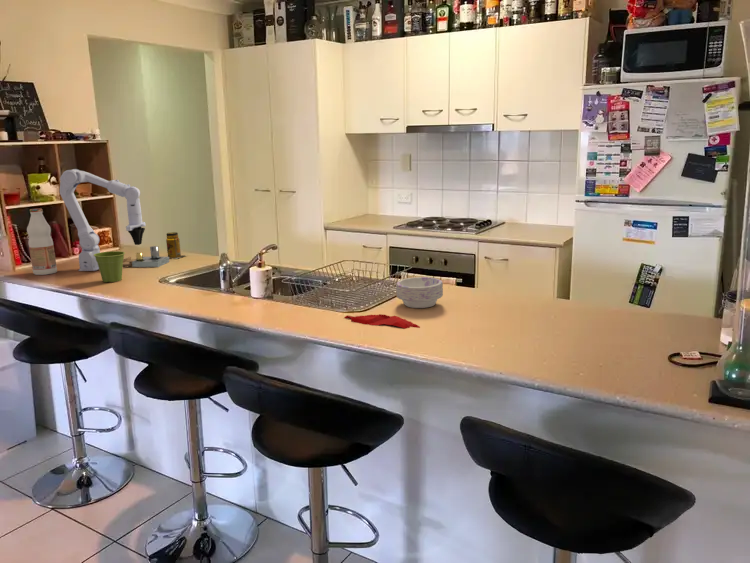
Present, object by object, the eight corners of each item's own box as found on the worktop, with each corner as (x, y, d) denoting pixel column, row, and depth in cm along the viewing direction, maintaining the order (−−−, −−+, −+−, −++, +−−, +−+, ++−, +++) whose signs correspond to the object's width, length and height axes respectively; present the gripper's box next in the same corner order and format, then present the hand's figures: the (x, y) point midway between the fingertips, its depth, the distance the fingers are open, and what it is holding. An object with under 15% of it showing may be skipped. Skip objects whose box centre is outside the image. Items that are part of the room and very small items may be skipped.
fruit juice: (35, 276, 268) (26, 210, 262) (31, 273, 275) (21, 209, 269) (59, 273, 274) (50, 208, 268) (54, 269, 281) (45, 207, 275)
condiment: (164, 258, 302) (161, 233, 299) (175, 255, 310) (172, 231, 307) (176, 259, 300) (174, 234, 297) (187, 255, 307) (185, 231, 305)
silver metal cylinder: (158, 264, 287) (156, 247, 285) (150, 264, 287) (148, 247, 286) (161, 263, 290) (159, 245, 289) (153, 263, 291) (152, 246, 289)
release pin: (141, 262, 283) (140, 253, 282) (135, 262, 283) (134, 253, 282) (144, 261, 285) (143, 252, 284) (138, 261, 286) (137, 252, 285)
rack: (131, 266, 284) (131, 261, 283) (116, 266, 284) (116, 262, 284) (143, 261, 295) (143, 256, 295) (129, 261, 296) (129, 257, 295)
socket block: (158, 267, 281) (157, 261, 281) (132, 267, 282) (132, 261, 282) (169, 261, 293) (168, 256, 292) (144, 261, 294) (144, 256, 294)
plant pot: (114, 284, 248) (110, 256, 246) (90, 283, 252) (86, 255, 250) (134, 278, 259) (131, 251, 257) (111, 276, 263) (107, 250, 261)
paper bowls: (387, 305, 208) (386, 282, 206) (417, 296, 218) (417, 274, 216) (421, 313, 197) (421, 289, 195) (452, 304, 207) (452, 280, 206)
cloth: (432, 325, 187) (432, 318, 186) (404, 337, 177) (404, 329, 176) (365, 312, 203) (365, 305, 203) (336, 322, 193) (336, 315, 192)
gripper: (135, 216, 272) (139, 247, 275) (150, 212, 286) (153, 241, 289) (120, 216, 273) (123, 247, 276) (135, 212, 287) (139, 241, 290)
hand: (138, 244), depth 282 cm, fingers closed
